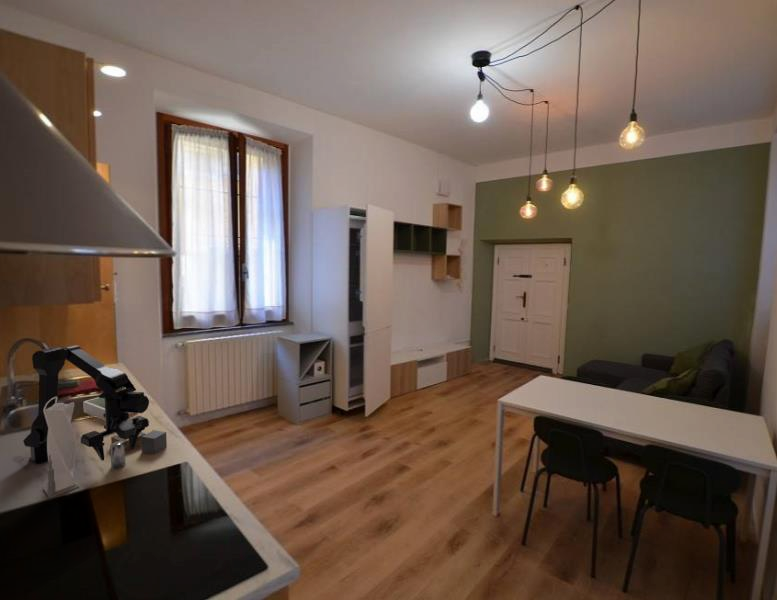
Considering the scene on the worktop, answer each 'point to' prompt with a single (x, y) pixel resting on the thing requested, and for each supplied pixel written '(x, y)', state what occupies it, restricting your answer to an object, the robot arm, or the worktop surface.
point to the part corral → (96, 407)
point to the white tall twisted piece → (60, 448)
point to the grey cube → (154, 442)
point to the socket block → (126, 440)
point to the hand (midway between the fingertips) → (117, 454)
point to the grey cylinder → (117, 454)
